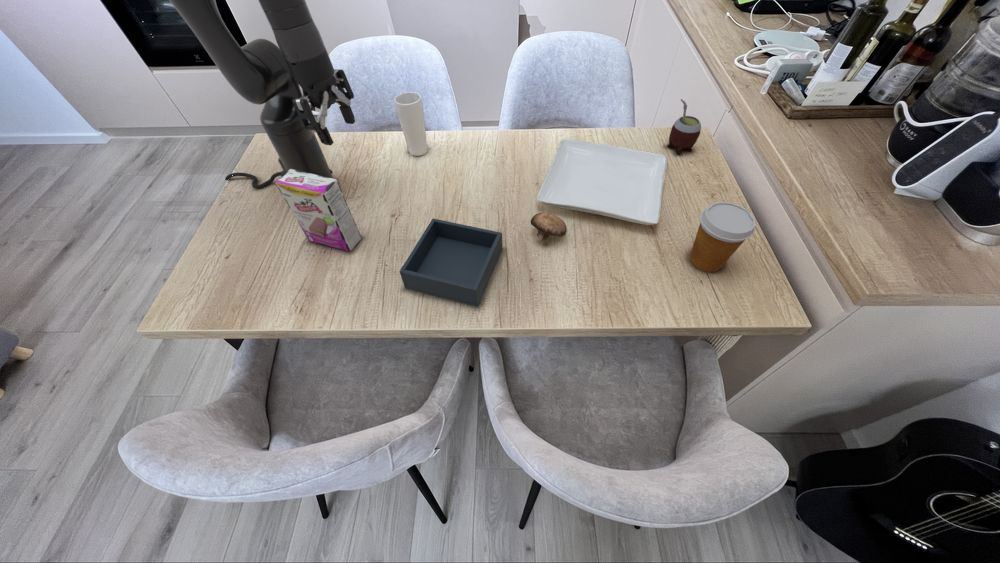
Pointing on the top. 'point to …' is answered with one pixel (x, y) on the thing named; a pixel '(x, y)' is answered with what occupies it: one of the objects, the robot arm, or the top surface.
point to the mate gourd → (684, 132)
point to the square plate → (605, 181)
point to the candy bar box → (320, 209)
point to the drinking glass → (412, 121)
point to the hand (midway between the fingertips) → (340, 133)
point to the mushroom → (548, 226)
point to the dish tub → (453, 261)
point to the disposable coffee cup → (720, 234)
